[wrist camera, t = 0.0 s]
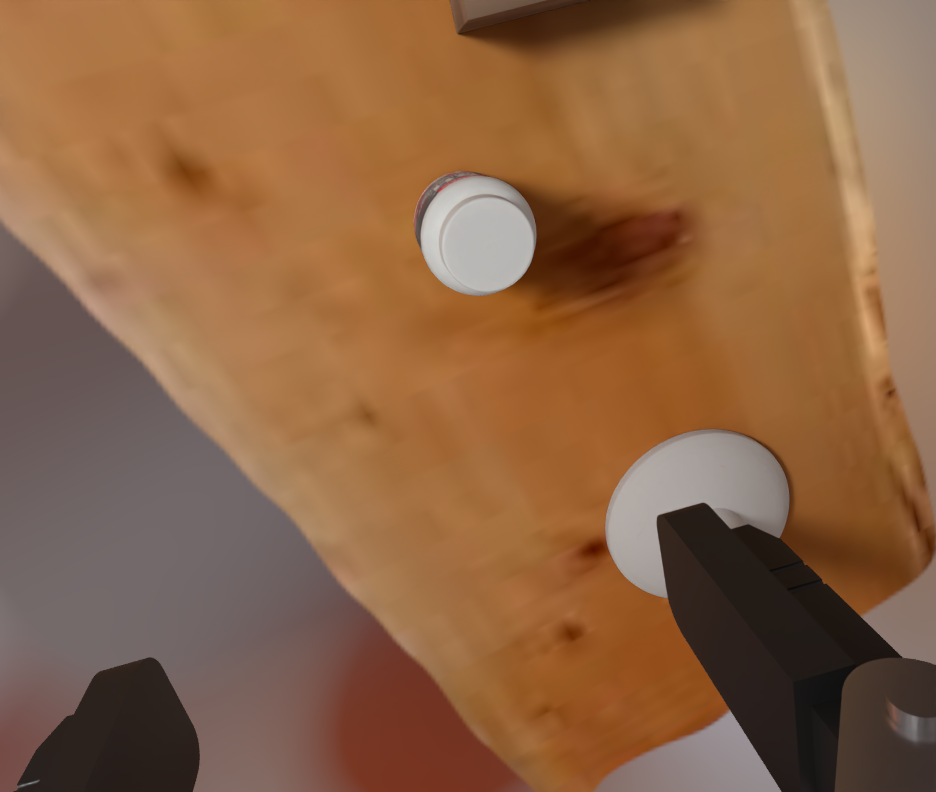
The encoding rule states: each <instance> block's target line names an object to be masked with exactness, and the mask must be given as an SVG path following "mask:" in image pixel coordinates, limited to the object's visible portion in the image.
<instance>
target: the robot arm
mask: <svg viewBox="0 0 936 792" xmlns="http://www.w3.org/2000/svg"><path fill="white" fill-rule="evenodd" d="M656 523H657V532H658V539H659V545H660V552H661V558H662V565H663V571H664V578H665V584H666V591H667V596H668V600H669V604H670V607H671V610H672V613H673V615H674V618H675V620H676V623H677V625H678V627H679V629H680V631H681V633H682V634H683V636H684V638H685V639H686V641H687V642H688V644H689V645H690V647H691V649H692V650H693V652H694V653H695V655H696V657H697V658H698V660H699V661H700V663H701V664H702V666H703V668H704V669H705V671H706V672H707V674H708V676H709V677H710V679H711V680H712V682H713V684H714V685H715V687H716V688H717V690H718V691H719V693H720V695H721V696H722V698H723V699H724V701H725V703H726V704H727V706H728V707H729V709H730V710H731V712H732V714H733V715H734V717H735V718H736V720H737V721H738V723H739V725H740V726H741V728H742V729H743V731H744V733H745V734H746V736H747V737H748V739H749V741H750V742H751V744H752V745H753V747H754V748H755V750H756V752H757V753H758V755H759V756H760V758H761V760H762V761H763V763H764V764H765V766H766V768H767V769H768V771H769V772H770V774H771V775H772V777H773V779H774V780H775V782H776V783H777V785H778V787H779V788H780V790H781V791H782V792H936V665H934V664H931V663H928V662H924V661H920V660H916V659H908V658H903V657H902V656H900V655H899V654H898V653H897V652H896V651H895V650H894V649H893V648H892V647H891V646H890V645H889V644H888V643H887V642H886V641H885V640H884V639H883V638H882V637H881V636H880V635H879V634H878V633H877V632H876V631H875V630H874V629H873V628H872V627H871V626H870V625H868V624H867V623H866V622H865V621H864V620H863V619H862V618H861V617H860V616H859V615H858V614H857V613H856V612H855V611H854V610H853V609H852V608H851V607H850V606H849V605H848V604H847V603H846V602H845V601H844V600H843V599H842V598H841V597H840V596H839V595H838V594H837V593H836V592H835V591H833V590H832V589H831V588H830V587H829V586H828V585H827V584H823V582H822V579H821V578H820V577H819V576H818V575H817V574H816V573H815V572H814V571H813V570H812V569H811V568H810V567H809V566H808V565H804V563H803V560H802V559H801V558H800V557H798V556H797V555H796V554H795V553H794V552H793V551H792V550H791V549H790V548H789V547H788V546H787V545H786V544H785V543H784V542H783V541H782V540H781V539H780V538H777V537H775V536H773V535H771V534H769V533H767V532H764V531H762V530H760V529H758V528H756V527H754V526H752V525H749V524H747V525H743V526H740V527H736V528H733V529H730V528H729V527H728V525H727V524H726V523H725V522H724V521H723V520H722V519H721V518H720V517H719V516H718V515H717V514H716V512H715V511H714V510H713V509H712V508H711V507H710V506H709V505H708V504H706V503H699V504H696V505H692V506H689V507H685V508H681V509H678V510H674V511H671V512H667V513H664V514H660V515H658V516H657V521H656ZM199 760H200V754H199V743H198V738H197V734H196V731H195V728H194V726H193V724H192V722H191V720H190V719H189V717H188V715H187V713H186V711H185V709H184V707H183V705H182V704H181V702H180V700H179V698H178V696H177V694H176V692H175V690H174V688H173V686H172V685H171V683H170V681H169V679H168V677H167V675H166V673H165V671H164V669H163V668H162V666H161V664H160V663H159V662H158V661H157V660H156V659H154V658H146V659H142V660H138V661H135V662H131V663H128V664H124V665H121V666H117V667H114V668H110V669H107V670H103V671H100V672H98V673H97V674H96V675H95V676H94V678H93V679H92V681H91V683H90V684H89V686H88V688H87V690H86V692H85V694H84V696H83V698H82V700H81V702H80V704H79V706H78V708H77V709H76V711H75V713H74V715H71V716H67V717H66V718H65V719H64V720H63V721H62V722H61V723H60V724H59V725H58V726H57V728H56V729H55V730H54V731H53V732H52V733H51V734H50V735H49V736H48V738H47V739H46V740H45V741H44V742H43V743H42V744H41V745H40V746H39V748H38V749H37V750H36V752H35V753H34V755H33V757H32V759H31V760H30V762H29V764H28V766H27V768H26V769H25V771H24V773H23V775H22V777H21V778H20V780H19V782H18V784H17V785H18V790H17V791H14V792H193V789H194V785H195V781H196V778H197V773H198V769H199Z"/></svg>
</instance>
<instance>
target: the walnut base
mask: <svg viewBox="0 0 936 792" xmlns="http://www.w3.org/2000/svg"><path fill="white" fill-rule="evenodd" d="M585 1H589V0H450V3H451V8H452V12H453V17H454V22H455V26H456V31H457V34H459V33H463V32H467V31H471V30H474V29H478V28H482V27H486V26H490V25H494V24H498V23H502V22H506V21H510V20H514V19H518V18H522V17H526V16H530V15H533V14H537V13H541V12H545V11H549V10H553V9H557V8H561V7H565V6H569V5H573V4H577V3H581V2H585Z"/></svg>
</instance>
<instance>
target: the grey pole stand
mask: <svg viewBox="0 0 936 792" xmlns="http://www.w3.org/2000/svg"><path fill="white" fill-rule="evenodd" d="M699 503H706V504H708V505H709V506H710V507H711V508H712V509H713V510H714V511H715V512H716V514H717V515H718V516H719V517H720V518H721V519H722V520H723V521H724V522H725V523H726V524H727V525H728V527H729V528H730V529H733V528H736V527H740V526H743V525H747V524H749V525H752V526H754V527H756V528H758V529H760V530H762V531H764V532H767V533H769V534H771V535H773V536H775V537H777V538H780V536H781V534H782V532H783V529H784V527H785V524H786V520H787V516H788V511H789V488H788V483H787V479H786V477H785V474H784V472H783V469H782V468H781V466H780V464H779V463H778V461H777V460H776V459H775V457H774V456H773V455H772V454H771V453H770V452H769V451H768V450H767V449H766V448H764V447H763V446H762V445H761V444H759V443H758V442H756V441H755V440H753V439H751V438H750V437H747V436H745V435H743V434H740V433H737V432H733V431H728V430H721V429H705V430H697V431H692V432H687V433H684V434H681V435H678V436H675V437H673V438H670V439H668V440H666V441H664V442H662V443H660V444H659V445H657V446H655V447H654V448H652V449H651V450H649V451H648V452H647V453H645V454H644V455H643V456H642V457H640V458H639V459H638V460H637V461H636V462H635V463H634V464H633V465H632V466H631V467H630V468H629V470H628V471H627V472H626V473H625V475H624V476H623V477H622V479H621V480H620V482H619V484H618V485H617V487H616V489H615V491H614V493H613V495H612V497H611V500H610V503H609V506H608V510H607V515H606V524H605V532H606V540H607V545H608V548H609V551H610V554H611V556H612V558H613V560H614V562H615V563H616V565H617V567H618V568H619V570H620V571H621V572H622V574H623V575H624V576H625V577H626V578H627V579H628V580H629V581H630V582H632V583H633V584H634V585H635V586H637V587H639V588H640V589H642V590H644V591H646V592H648V593H651V594H653V595H656V596H660V597H665V598H668V596H667V591H666V584H665V578H664V571H663V565H662V558H661V552H660V545H659V539H658V532H657V523H656V521H657V516H658V515H660V514H664V513H667V512H671V511H674V510H678V509H681V508H685V507H689V506H692V505H696V504H699Z"/></svg>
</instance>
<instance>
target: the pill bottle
mask: <svg viewBox="0 0 936 792" xmlns="http://www.w3.org/2000/svg"><path fill="white" fill-rule="evenodd" d="M414 229H415V234H416V238H417V241H418V244H419V246H420V249H421V251H422V253H423V256H424V258H425V260H426V262H427V265H428V267H429V268H430V270H431V271H432V272H433V274H434V275H435V276H436V277H437V279H439V280H440V281H441V282H442V283H443V284H445V285H446V286H448V287H449V288H451V289H453V290H455V291H457V292H460V293H463V294H467V295H475V296H482V295H490V294H494V293H497V292H499V291H502V290H504V289H506V288H508V287H509V286H511V285H513V284H514V283H515V282H517V281H518V280H519V279H520V278H521V277H522V276H523V275H524V273H525V272H526V271H527V269H528V267H529V265H530V263H531V261H532V258H533V254H534V250H535V246H536V236H537V234H536V224H535V219H534V216H533V213H532V211H531V208H530V206H529V205H528V203H527V202H526V200H525V199H524V197H523V196H522V195H521V194H520V193H519V192H518V191H517V190H516V189H515V188H514V187H512V186H511V185H509V184H508V183H506V182H504V181H502V180H499V179H496V178H493V177H489V176H485V175H482V174H479V173H475V172H469V171H459V172H453V173H449V174H446V175H443V176H441V177H439V178H438V179H436V180H435V181H433V182H432V183H431V184H430V185H429V186H428V187H427V188H426V189H425V191H424V192H423V194H422V195H421V197H420V199H419V201H418V204H417V206H416V210H415V215H414Z"/></svg>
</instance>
